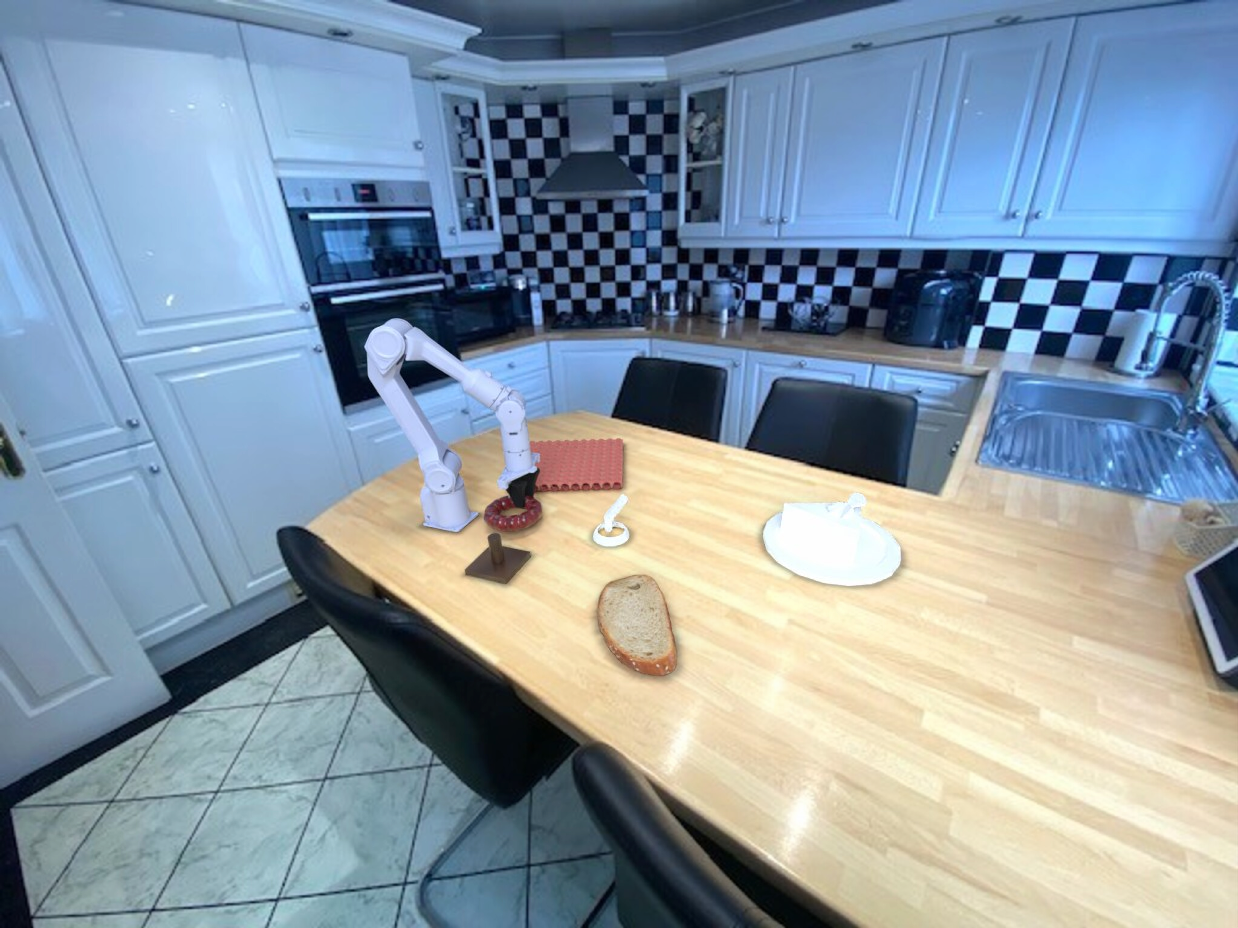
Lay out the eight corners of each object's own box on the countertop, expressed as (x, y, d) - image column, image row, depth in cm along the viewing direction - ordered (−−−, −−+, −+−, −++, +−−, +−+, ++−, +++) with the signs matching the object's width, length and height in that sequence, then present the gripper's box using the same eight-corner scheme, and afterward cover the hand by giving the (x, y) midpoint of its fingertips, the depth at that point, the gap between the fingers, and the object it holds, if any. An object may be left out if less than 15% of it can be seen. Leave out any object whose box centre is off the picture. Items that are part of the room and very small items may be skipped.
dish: (897, 524, 105) (908, 476, 100) (901, 600, 84) (915, 543, 79) (774, 503, 114) (779, 458, 109) (752, 566, 94) (756, 514, 89)
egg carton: (622, 489, 123) (622, 482, 123) (508, 492, 124) (507, 485, 123) (623, 444, 149) (622, 438, 148) (528, 447, 150) (527, 441, 149)
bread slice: (665, 684, 71) (664, 665, 69) (563, 637, 80) (561, 619, 78) (714, 608, 84) (715, 590, 83) (622, 575, 93) (621, 558, 92)
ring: (473, 528, 107) (471, 515, 106) (505, 500, 118) (503, 488, 116) (524, 538, 103) (522, 525, 102) (552, 509, 114) (551, 496, 112)
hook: (653, 523, 99) (624, 511, 96) (619, 560, 105) (590, 550, 102) (647, 498, 105) (620, 486, 102) (615, 534, 111) (588, 523, 108)
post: (465, 574, 95) (459, 545, 93) (492, 548, 103) (487, 520, 100) (506, 584, 92) (501, 554, 89) (531, 556, 100) (527, 527, 97)
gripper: (514, 463, 100) (522, 522, 106) (549, 437, 113) (555, 490, 118) (484, 459, 103) (494, 516, 109) (521, 433, 115) (528, 486, 121)
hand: (524, 503), depth 114 cm, fingers closed on ring, 3 cm apart
